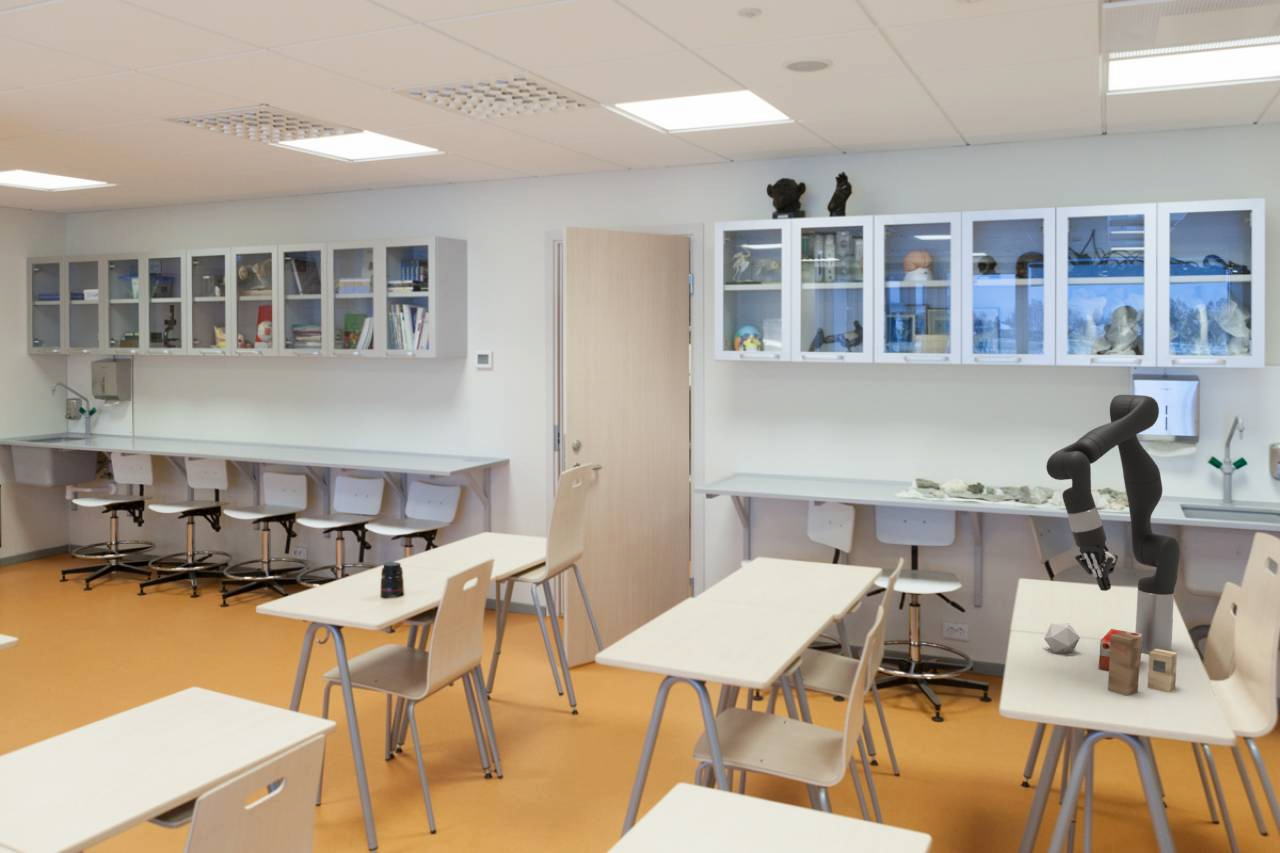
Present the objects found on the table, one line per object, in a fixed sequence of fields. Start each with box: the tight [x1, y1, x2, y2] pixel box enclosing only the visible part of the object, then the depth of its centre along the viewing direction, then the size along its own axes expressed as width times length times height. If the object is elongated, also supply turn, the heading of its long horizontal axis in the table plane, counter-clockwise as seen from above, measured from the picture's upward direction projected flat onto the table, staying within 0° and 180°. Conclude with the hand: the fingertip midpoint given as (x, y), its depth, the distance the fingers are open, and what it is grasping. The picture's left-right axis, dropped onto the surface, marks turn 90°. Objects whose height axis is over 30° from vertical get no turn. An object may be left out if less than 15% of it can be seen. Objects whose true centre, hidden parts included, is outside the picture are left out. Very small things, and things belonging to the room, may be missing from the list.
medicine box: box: [1098, 628, 1142, 672], centre depth 277 cm, size 15×8×8 cm, turn 145°
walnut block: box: [1107, 632, 1141, 696], centre depth 256 cm, size 5×5×14 cm
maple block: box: [1147, 649, 1178, 693], centre depth 259 cm, size 5×5×9 cm
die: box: [1043, 622, 1081, 654], centre depth 289 cm, size 8×9×10 cm
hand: (1105, 589), depth 266 cm, fingers closed
